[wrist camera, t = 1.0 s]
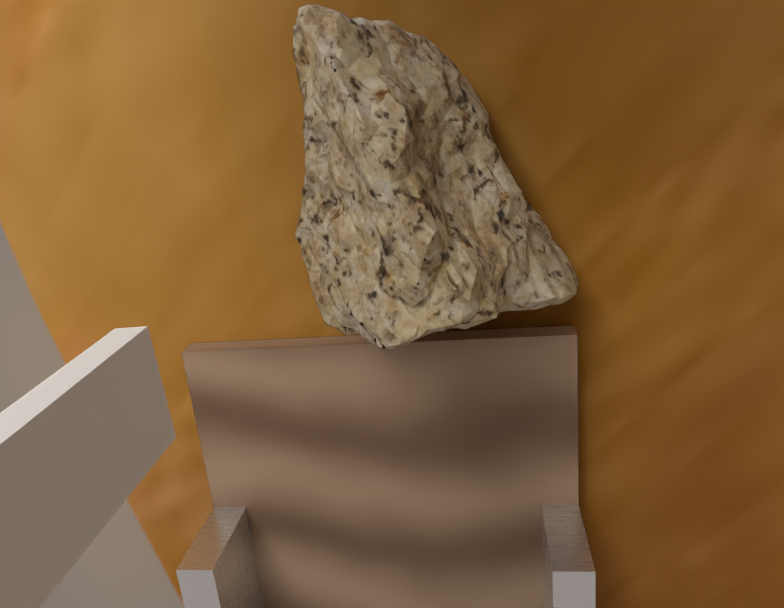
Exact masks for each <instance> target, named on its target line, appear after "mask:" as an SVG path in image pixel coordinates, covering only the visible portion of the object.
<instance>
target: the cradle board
mask: <svg viewBox="0 0 784 608" xmlns="http://www.w3.org/2000/svg"><path fill="white" fill-rule="evenodd" d="M182 357H183V361H184V366H185V371H186V376H187V381H188V386H189V390H190V395H191V400H192V405H193V410H194V414H195V419H196V424H197V429H198V434H199V438H200V443H201V448H202V453H203V458H204V463H205V467H206V472H207V477H208V482H209V487H210V491H211V496H212V501H213V506H214V507H246V510H247V515H248V520H249V525H250V531H251V536H252V541H253V546H254V552H255V557H256V562H257V567H258V573H259V578H260V583H261V589H262V594H263V599H264V604H265V608H544V576H543V539H542V504H579V486H578V335H577V332H576V330H575V327H574V325H572V326H550V327H528V328H507V329H485V330H464V331H442V332H434V333H431V334H428V335H425V336H423V337H421V338H418V339H416V340H414V341H412V342H411V343H409V344H407V345H405V346H401V347H397V348H392V349H381V348H378V346H377V345H375V344H372V343H370V342H369V341H367V340H366V339H364V338H363V337H362V336H361V335H356V336H334V337H313V338H291V339H270V340H248V341H226V342H205V343H191V344H190V345H189V346H188V347H187V348H186V349H185V350H183V351H182Z"/></svg>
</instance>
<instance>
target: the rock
mask: <svg viewBox="0 0 784 608" xmlns="http://www.w3.org/2000/svg"><path fill="white" fill-rule="evenodd" d="M293 57H294V60H295V63H296V66H297V67H296V70H297V75H298V79H299V84H300V90H301V93H302V96H303V99H304V100H303V101H304V108H303V110H304V119H305V121H304V122H303V129H304V132H303V137H304V149H305V150H306V149H307V150H306V152H305V172H306V174H305V177H304V186H303V190H302V195H303V199H302V205H301V210H300V216H299V220H298V225H297V229H296V234H295V236H296V238H297V240H298V241H299V243H300V246H301V252H302V257H303V260H304V262H305V265H306V267H307V270H308V275H309V282H310V285H311V288H312V291H313V295H314V298H315V300H316V303H317V305H318V308H319V310H320V313H321V315H322V317H323V319H324V321H325V323H326V325H328V326H331V327H334V328H336V329H337V330H339V331H341V332H342V333H344V334H346V335H347V336H348V335H350V334H353V333H357V334H359V335H361V336H362V337H363V338H364V339H366V340H367V341H369V342H370V343H372V344H375V345H377V346H378V348H381V349H392V348H397V347H401V346H405V345H407V344H409V343H411V342H412V341H414V340H416V339H418V338H421V337H423V336H425V335H428V334H431V333H434V332H437V331H445V330H447V329H449V328H451V327H452V328H459V329H468V328H470V327H473V326H475V325H478V324H481V323H484V322H487V321H490V320H492V319H495V318H497V316H498V313H500V312H504V311H520V310H537V309H540V308H543V307H546V306H549V305H560V304H562V303H564V302H566V301H567V300H569V299H570V298H572V297H573V296H574V295H576V294H577V293H578V292H577V289H578V283H579V282H578V278H577V276H576V273H575V271H574V269H573V267H572V265H571V264H570V262H569V259H568V257H567V256H566V254H565V253H564V252H563V251H562V249H561V248H560V247H559V245H558V244H557V243H556V242H555V241H554V240H553V239H552V237H551V234H550V231H549V229H548V227H547V226H546V224H545V223H544V222H543V221H542V219H541V217H540V215H539V214H538V213H537V212H536V211H535V210H534V209H533V208H532V207H531V206H530V205H529V204H528V202H526V201H525V199H524V197H523V195H522V190H521V189H520V188H519V187H518V186H517V184H516V182H515V180H514V178H513V175H512V174H511V172H510V170H509V169H508V167H507V165H506V164H505V162H504V161H503V159H502V157H501V156H500V152H499V150H498V148H497V146H496V144H495V143H494V141H493V139H492V136H491V133H490V131H489V121H490V117H489V114H488V112H487V110H486V109H485V107H484V106H483V104H482V103H481V101H480V99H479V98H478V96H477V94H476V92H475V91H474V89H473V87H472V85H471V84H470V82H469V80H468V79H467V78H466V77H464V76H463V75H462V74H461V72H460V71H459V70H458V68H457V67H456V66H455V64H454V63H453V61H452V60H450V59H449V58H448V57H447V56H446V55H445V54H443V53H442V52H441V51H440V49H439V48H438V47H437V46H436V45H435V44H434V43H432V42H430V41H429V40H428V39H426V38H425V37H424V36H422V35H418V34H414V33H410V32H406V31H405V30H403V29H402V28H401V27H399V26H398V25H396V24H395V23H393V22H392V21H390V20H370V19H366V18H361V17H358V18H351V19H350V18H349V17H347V16H346V15H345V14H343V13H341V12H338V11H335V10H332V9H329V8H326V7H323V6H320V5H317V4H308V5H305V6H302V7H300V8H299V10H298V14H297V19H296V23H295V25H294V27H293Z"/></svg>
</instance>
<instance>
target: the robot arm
mask: <svg viewBox="0 0 784 608" xmlns="http://www.w3.org/2000/svg"><path fill="white" fill-rule="evenodd" d="M175 438H176V435H175V431H174V427H173V423H172V419H171V415H170V411H169V407H168V403H167V400H166V396H165V392H164V388H163V384H162V380H161V376H160V372H159V368H158V364H157V361H156V357H155V353H154V349H153V345H152V341H151V337H150V333H149V329H148V326H144V327H130V328H116V329H114V330H112V331H111V332H110V333H108V334H107V335H106V336H104V337H103V338H102V339H100V340H99V341H97V342H96V343H95V344H93V345H92V346H91V347H89V348H88V349H87V350H85V351H84V352H83V353H81V354H80V355H78V356H77V357H76V358H74V359H73V360H72V361H70V362H69V363H68V364H66V365H65V366H63V367H62V368H61V369H60V370H58V371H57V372H55V373H54V374H53V375H51V376H50V377H49V378H47V379H46V380H44V381H43V382H42V383H41V384H39V385H38V386H36V387H35V388H34V389H32V390H31V391H30V392H28V393H27V394H25V395H24V396H23V397H22V398H20V399H19V400H17V401H16V402H15V403H13V404H12V405H10V406H9V407H8V408H6V409H5V410H4V411H2V412H1V413H0V608H40V606H41V605H42V604H43V603H44V601H45V600H46V599H47V597H48V596H49V595H50V594H51V593H52V591H53V590H54V589H55V588H56V586H57V585H58V584H59V583H60V581H61V580H62V579H63V577H64V576H65V575H66V574H67V573H68V571H69V570H70V569H71V568H72V566H73V565H74V564H75V563H76V561H77V560H78V559H79V558H80V556H81V555H82V554H83V553H84V551H85V550H86V549H87V548H88V546H89V545H90V544H91V543H92V541H93V540H94V539H95V538H96V536H97V535H98V534H99V533H100V531H101V530H102V529H103V527H104V526H105V525H106V524H107V523H108V521H109V520H110V519H111V517H112V516H113V515H114V514H115V513H116V511H117V510H118V509H119V508H120V506H121V505H122V504H123V503H124V501H125V500H126V499H127V498H128V496H129V495H130V494H131V493H132V491H133V490H134V489H135V488H136V486H137V485H138V484H139V483H140V481H141V480H142V479H143V478H144V476H145V475H146V474H147V473H148V471H149V470H150V469H151V468H152V466H153V465H154V464H155V463H156V461H157V460H158V459H159V458H160V456H161V455H162V454H163V453H164V451H165V450H166V449H167V448H168V446H169V445H170V444H171V443H172V441H173V440H174V439H175Z"/></svg>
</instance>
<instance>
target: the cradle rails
mask: <svg viewBox="0 0 784 608" xmlns="http://www.w3.org/2000/svg"><path fill="white" fill-rule="evenodd" d="M542 539H543V576H544V608H595V607H596V571H595V567H594V563H593V559H592V555H591V551H590V547H589V543H588V539H587V535H586V531H585V527H584V523H583V519H582V515H581V511H580V507H579V504H542ZM176 572H177V577H178V581H179V585H180V589H181V594H182V598H183V602H184V606H185V608H265V604H264V599H263V594H262V589H261V583H260V578H259V573H258V567H257V562H256V557H255V552H254V546H253V541H252V536H251V531H250V525H249V520H248V515H247V510H246V507H214V508H213V510H212V511H211V513H210V515H209V516H208V518H207V520H206V521H205V523H204V525H203V526H202V528H201V530H200V531H199V533H198V534H197V536H196V538H195V539H194V541H193V543H192V544H191V546H190V548H189V549H188V551H187V553H186V554H185V556H184V558H183V559H182V561H181V563H180V564H179V566H178V567H177V569H176Z"/></svg>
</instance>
